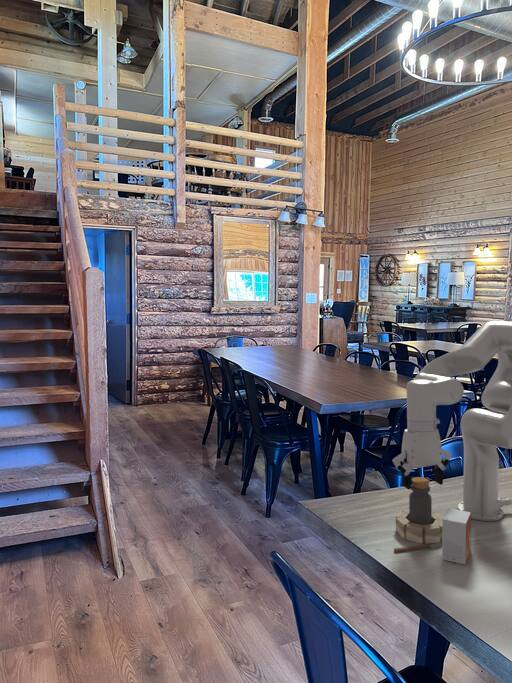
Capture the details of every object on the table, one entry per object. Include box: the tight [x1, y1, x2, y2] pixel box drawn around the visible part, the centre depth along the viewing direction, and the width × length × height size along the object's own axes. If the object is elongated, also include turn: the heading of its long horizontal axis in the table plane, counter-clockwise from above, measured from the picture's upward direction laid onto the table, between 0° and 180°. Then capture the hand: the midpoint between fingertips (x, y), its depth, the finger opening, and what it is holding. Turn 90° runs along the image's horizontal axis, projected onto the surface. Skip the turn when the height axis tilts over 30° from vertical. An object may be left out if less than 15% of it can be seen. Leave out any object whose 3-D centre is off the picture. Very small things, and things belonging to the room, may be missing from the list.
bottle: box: [408, 476, 433, 525], centre depth 139 cm, size 6×6×15 cm
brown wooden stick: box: [393, 543, 432, 554], centre depth 130 cm, size 10×1×1 cm, turn 102°
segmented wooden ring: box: [395, 509, 444, 545], centre depth 140 cm, size 12×12×4 cm
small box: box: [441, 507, 472, 566], centre depth 127 cm, size 8×6×10 cm
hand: (422, 485), depth 139 cm, fingers open, 9 cm apart
